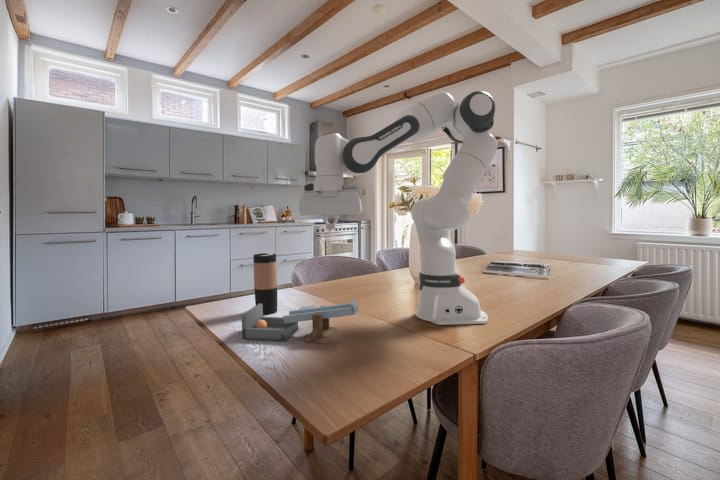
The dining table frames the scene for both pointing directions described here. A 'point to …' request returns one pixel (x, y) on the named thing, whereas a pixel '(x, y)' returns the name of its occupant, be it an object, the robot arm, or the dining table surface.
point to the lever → (321, 312)
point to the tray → (272, 332)
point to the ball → (261, 324)
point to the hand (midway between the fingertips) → (331, 229)
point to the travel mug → (265, 282)
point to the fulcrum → (320, 330)
